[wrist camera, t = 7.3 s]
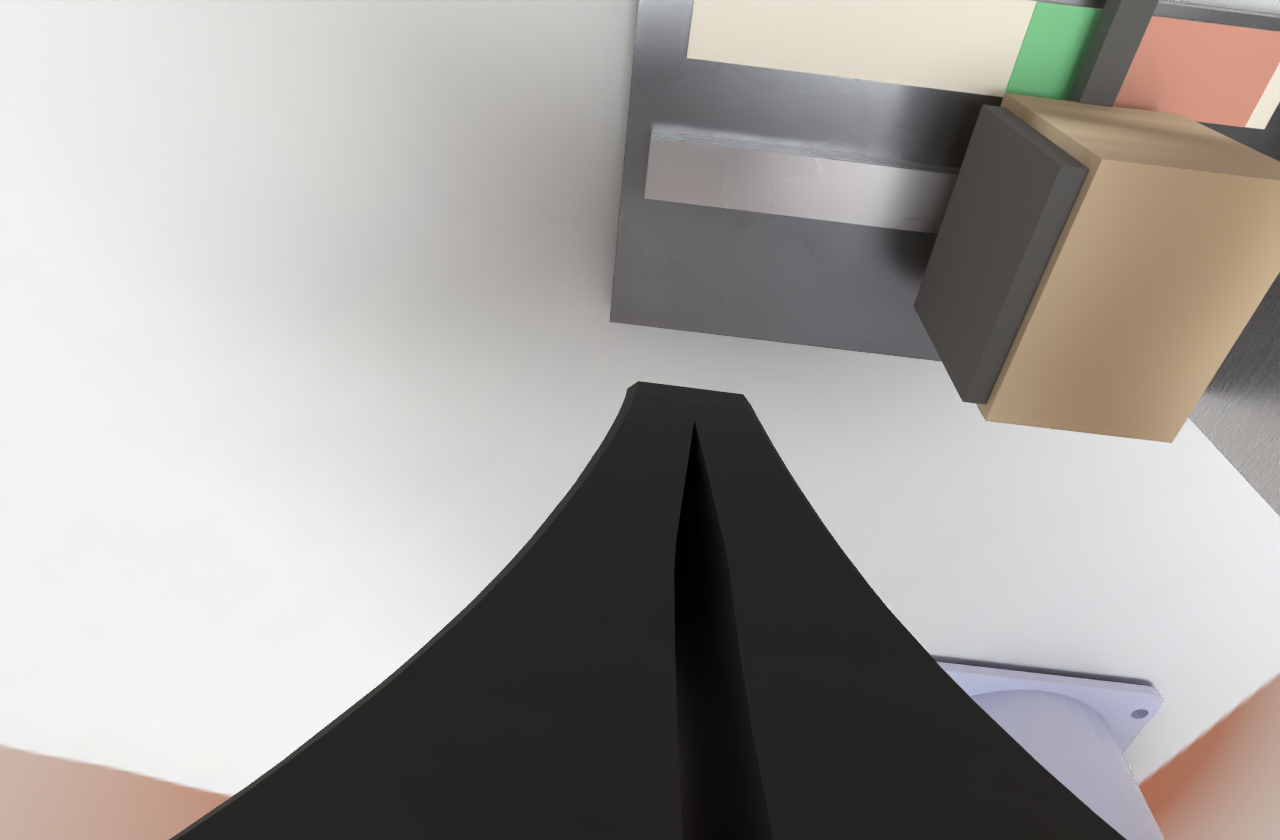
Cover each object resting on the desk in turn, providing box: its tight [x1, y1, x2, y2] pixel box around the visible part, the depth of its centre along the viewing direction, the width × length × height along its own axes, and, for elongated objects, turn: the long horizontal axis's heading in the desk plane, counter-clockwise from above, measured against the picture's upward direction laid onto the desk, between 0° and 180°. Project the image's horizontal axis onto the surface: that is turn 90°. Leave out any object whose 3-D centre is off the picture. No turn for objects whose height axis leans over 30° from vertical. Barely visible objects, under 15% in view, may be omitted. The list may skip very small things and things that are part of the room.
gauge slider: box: [914, 0, 1280, 443], centre depth 13 cm, size 4×6×4 cm, turn 174°
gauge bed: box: [610, 0, 1280, 516], centre depth 14 cm, size 15×8×6 cm, turn 84°
